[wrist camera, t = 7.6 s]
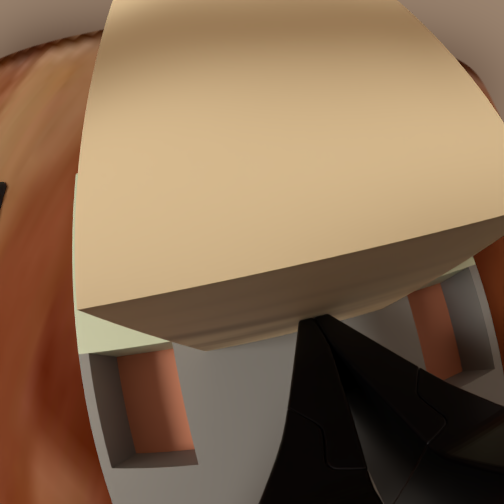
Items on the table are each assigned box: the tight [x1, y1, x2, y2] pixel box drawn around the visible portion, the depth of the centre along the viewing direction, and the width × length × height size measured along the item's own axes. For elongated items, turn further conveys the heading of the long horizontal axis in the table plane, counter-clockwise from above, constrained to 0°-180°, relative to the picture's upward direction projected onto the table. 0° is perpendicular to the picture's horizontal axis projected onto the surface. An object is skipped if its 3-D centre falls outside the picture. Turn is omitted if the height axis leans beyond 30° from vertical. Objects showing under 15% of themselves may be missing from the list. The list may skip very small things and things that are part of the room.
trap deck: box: [72, 174, 504, 504], centre depth 13 cm, size 25×18×4 cm
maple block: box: [75, 0, 504, 351], centre depth 9 cm, size 8×7×9 cm
